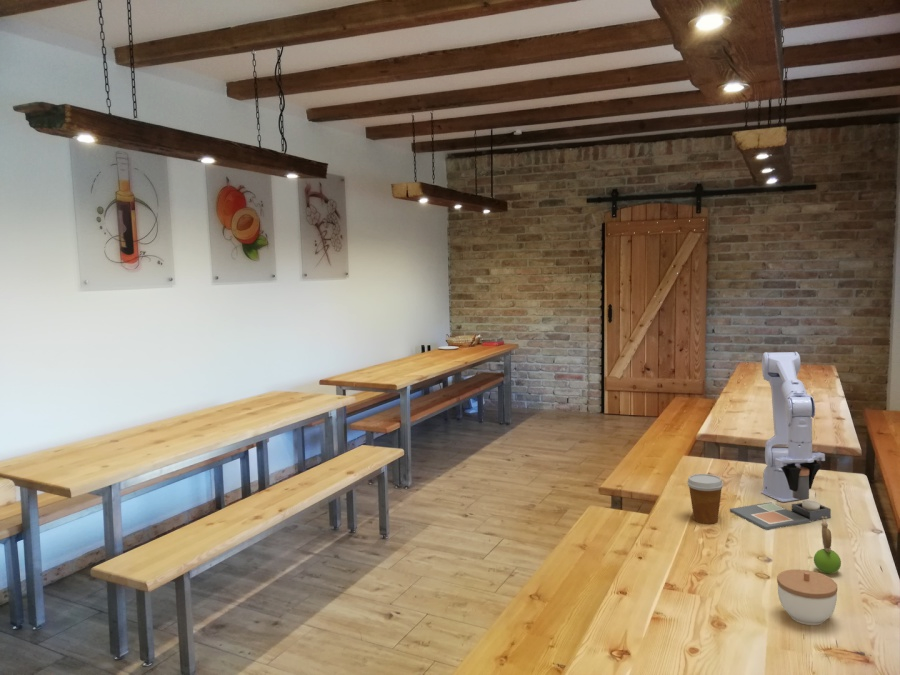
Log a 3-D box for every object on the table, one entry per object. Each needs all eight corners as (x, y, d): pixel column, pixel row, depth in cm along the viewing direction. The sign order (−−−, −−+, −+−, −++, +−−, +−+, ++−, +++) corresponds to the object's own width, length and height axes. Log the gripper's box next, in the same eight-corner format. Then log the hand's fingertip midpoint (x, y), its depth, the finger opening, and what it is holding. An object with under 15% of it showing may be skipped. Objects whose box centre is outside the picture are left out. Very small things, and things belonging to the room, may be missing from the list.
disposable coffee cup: (687, 524, 186) (686, 482, 185) (688, 512, 195) (687, 472, 194) (724, 527, 183) (723, 485, 181) (724, 515, 191) (723, 474, 190)
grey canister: (788, 495, 185) (788, 467, 184) (801, 493, 186) (800, 465, 185) (800, 500, 181) (800, 471, 180) (813, 498, 182) (812, 469, 181)
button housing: (791, 513, 190) (791, 504, 190) (811, 509, 192) (811, 501, 192) (810, 521, 184) (810, 512, 183) (830, 518, 185) (830, 508, 185)
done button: (798, 507, 189) (798, 501, 189) (811, 505, 190) (811, 499, 190) (810, 512, 185) (810, 506, 185) (823, 510, 186) (823, 504, 186)
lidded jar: (811, 637, 128) (811, 590, 128) (765, 612, 138) (765, 568, 137) (849, 622, 133) (850, 577, 132) (802, 599, 142) (802, 557, 142)
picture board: (729, 511, 194) (729, 508, 194) (771, 504, 197) (771, 501, 197) (765, 530, 180) (765, 526, 179) (809, 522, 183) (809, 519, 183)
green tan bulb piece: (837, 566, 157) (837, 516, 155) (843, 578, 151) (843, 527, 149) (811, 564, 158) (810, 515, 157) (816, 576, 152) (816, 525, 151)
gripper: (788, 447, 176) (788, 497, 177) (833, 440, 180) (833, 489, 181) (769, 440, 183) (769, 489, 184) (813, 434, 186) (813, 482, 188)
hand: (800, 489), depth 183 cm, fingers closed on grey canister, 4 cm apart
